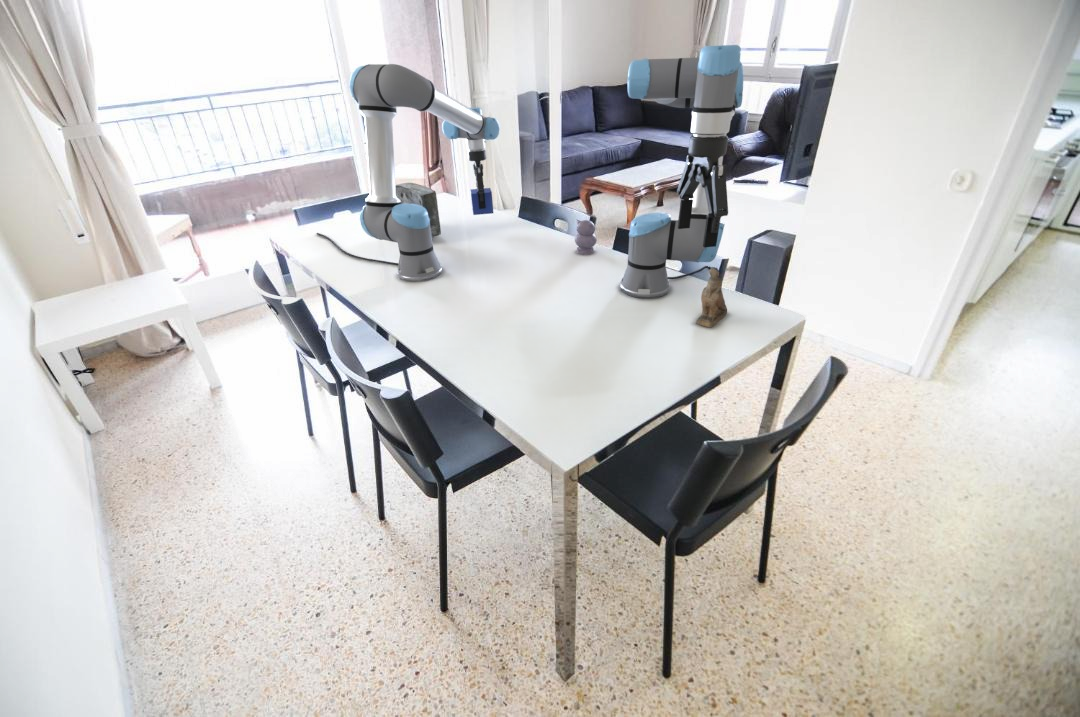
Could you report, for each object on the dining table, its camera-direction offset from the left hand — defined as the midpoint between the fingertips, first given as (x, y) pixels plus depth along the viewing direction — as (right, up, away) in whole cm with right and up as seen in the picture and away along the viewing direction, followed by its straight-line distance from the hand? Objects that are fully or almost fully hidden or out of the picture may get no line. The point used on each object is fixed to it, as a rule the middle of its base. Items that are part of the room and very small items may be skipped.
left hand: (481, 205), depth 215 cm
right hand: (+60, -39, -103) cm, 126 cm away
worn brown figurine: (+74, -55, -76) cm, 119 cm away
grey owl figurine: (+43, -26, -26) cm, 56 cm away
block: (0, -2, +1) cm, 3 cm away
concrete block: (-25, -14, -2) cm, 29 cm away
